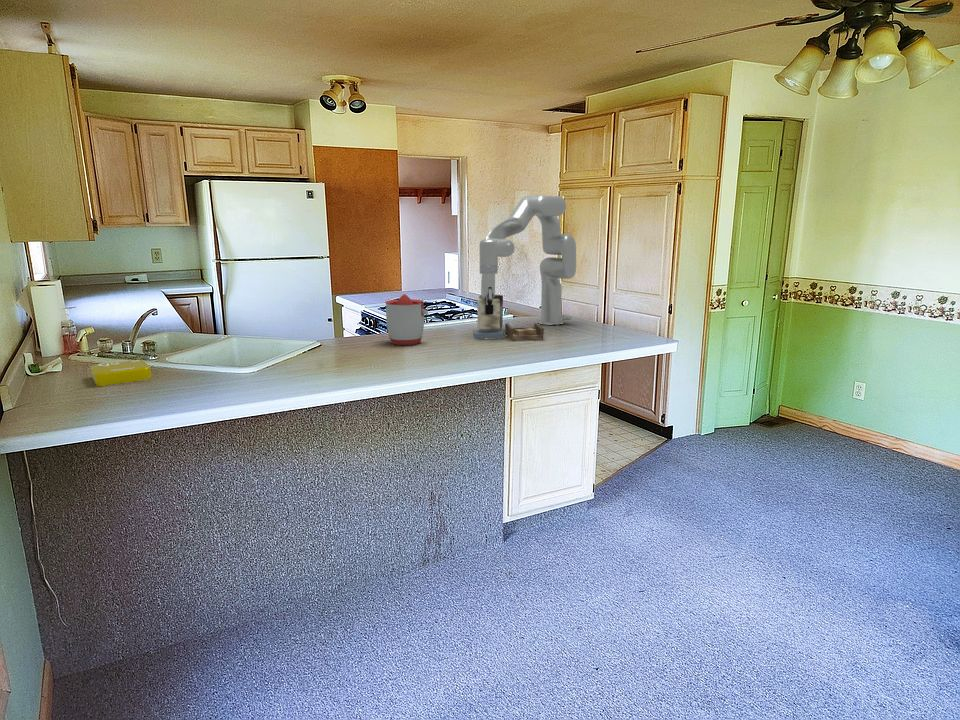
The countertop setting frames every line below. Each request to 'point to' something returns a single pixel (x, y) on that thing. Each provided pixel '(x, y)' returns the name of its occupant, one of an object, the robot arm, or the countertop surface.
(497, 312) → the tall cream block
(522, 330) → the upper oak offcut
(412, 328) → the citrus juicer
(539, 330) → the walnut rack
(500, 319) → the coffee box
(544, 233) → the robot arm
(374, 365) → the countertop surface
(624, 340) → the countertop surface
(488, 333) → the slate board
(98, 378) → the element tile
